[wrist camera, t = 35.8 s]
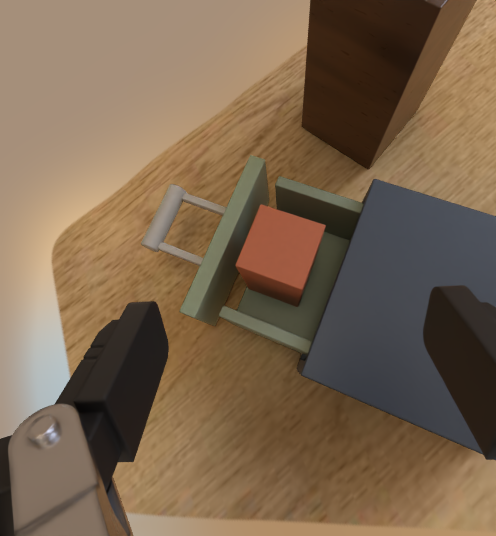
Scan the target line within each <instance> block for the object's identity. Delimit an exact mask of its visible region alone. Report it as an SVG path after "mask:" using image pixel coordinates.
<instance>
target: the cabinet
mask: <svg viewBox="0 0 496 536" xmlns="http://www.w3.org/2000/svg"><path fill="white" fill-rule="evenodd" d="M362 203H363V207H362V210H361V212H360V215H359V218H358V221H357V223H356V226H355V229H354V231H353V234H352V237H351V239H350V242H349V245H348V247H347V250H346V253H345V255H344V258H343V261H342V263H341V266H340V269H339V271H338V274H337V277H336V279H335V282H334V285H333V287H332V290H331V293H330V295H329V298H328V301H327V303H326V306H325V309H324V311H323V314H322V317H321V319H320V322H319V325H318V327H317V330H316V333H315V336H314V338H313V341H312V344H311V346H310V349H309V352H308V354H307V355H305V354H302V355H301V358H300V360H299V363H298V366H297V370H298V372H299V373H300V374H301V375H302V376H304V377H306V378H308V379H311V380H313V381H315V382H317V383H320V384H322V385H324V386H327V387H329V388H331V389H334V390H336V391H338V392H340V393H343V394H345V395H347V396H350V397H352V398H354V399H357V400H359V401H361V402H363V403H366V404H368V405H370V406H373V407H375V408H377V409H380V410H382V411H384V412H386V413H389V414H391V415H393V416H396V417H398V418H400V419H402V420H405V421H407V422H409V423H412V424H414V425H416V426H419V427H421V428H423V429H425V430H428V431H430V432H432V433H435V434H437V435H439V436H442V437H444V438H446V439H448V440H451V441H453V442H455V443H458V444H460V445H462V446H465V447H467V448H469V449H471V450H474V451H476V452H478V453H481V454H483V453H482V451H481V449H480V447H479V445H478V444H477V442H476V440H475V438H474V436H473V434H472V433H471V431H470V429H469V427H468V425H467V423H466V422H465V420H464V418H463V416H462V414H461V412H460V411H459V409H458V407H457V405H456V403H455V401H454V400H453V398H452V396H451V394H450V392H449V390H448V389H447V387H446V385H445V383H444V381H443V379H442V378H441V376H440V374H439V372H438V370H437V368H436V367H435V365H434V363H433V361H432V359H431V357H430V356H429V354H428V352H427V350H426V347H425V344H424V339H423V327H424V322H425V317H426V313H427V308H428V303H429V298H430V293H431V291H432V289H433V288H434V287H438V286H457V285H464V286H466V287H468V288H469V289H470V291H471V292H472V293H473V294H474V295H475V296H476V297H477V299H478V300H479V301H480V302H488V303H489V304H491V305H493V306H494V307H496V216H493V215H490V214H486V213H483V212H480V211H477V210H474V209H470V208H467V207H464V206H461V205H457V204H454V203H451V202H448V201H445V200H441V199H438V198H435V197H432V196H428V195H425V194H422V193H419V192H416V191H412V190H409V189H406V188H403V187H399V186H396V185H393V184H390V183H387V182H383V181H380V180H377V179H374V180H373V181H372V183H371V185H370V187H369V189H368V191H367V193H366V195H365V197H364V199H363V201H362ZM483 455H484V454H483ZM494 460H496V459H494Z"/></svg>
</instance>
